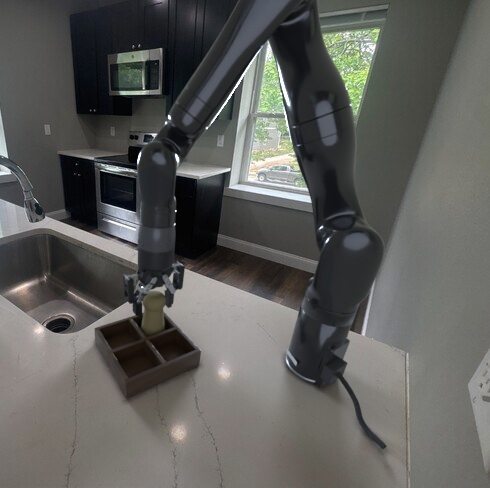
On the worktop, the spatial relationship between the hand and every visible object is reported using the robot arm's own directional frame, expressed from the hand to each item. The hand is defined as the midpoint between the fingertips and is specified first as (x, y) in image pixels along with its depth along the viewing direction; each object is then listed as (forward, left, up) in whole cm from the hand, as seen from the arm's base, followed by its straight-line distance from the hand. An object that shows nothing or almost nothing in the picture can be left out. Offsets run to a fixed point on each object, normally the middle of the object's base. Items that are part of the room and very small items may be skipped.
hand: (153, 310), depth 67 cm
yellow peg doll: (0, 0, -7) cm, 7 cm away
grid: (-4, +4, -8) cm, 9 cm away
